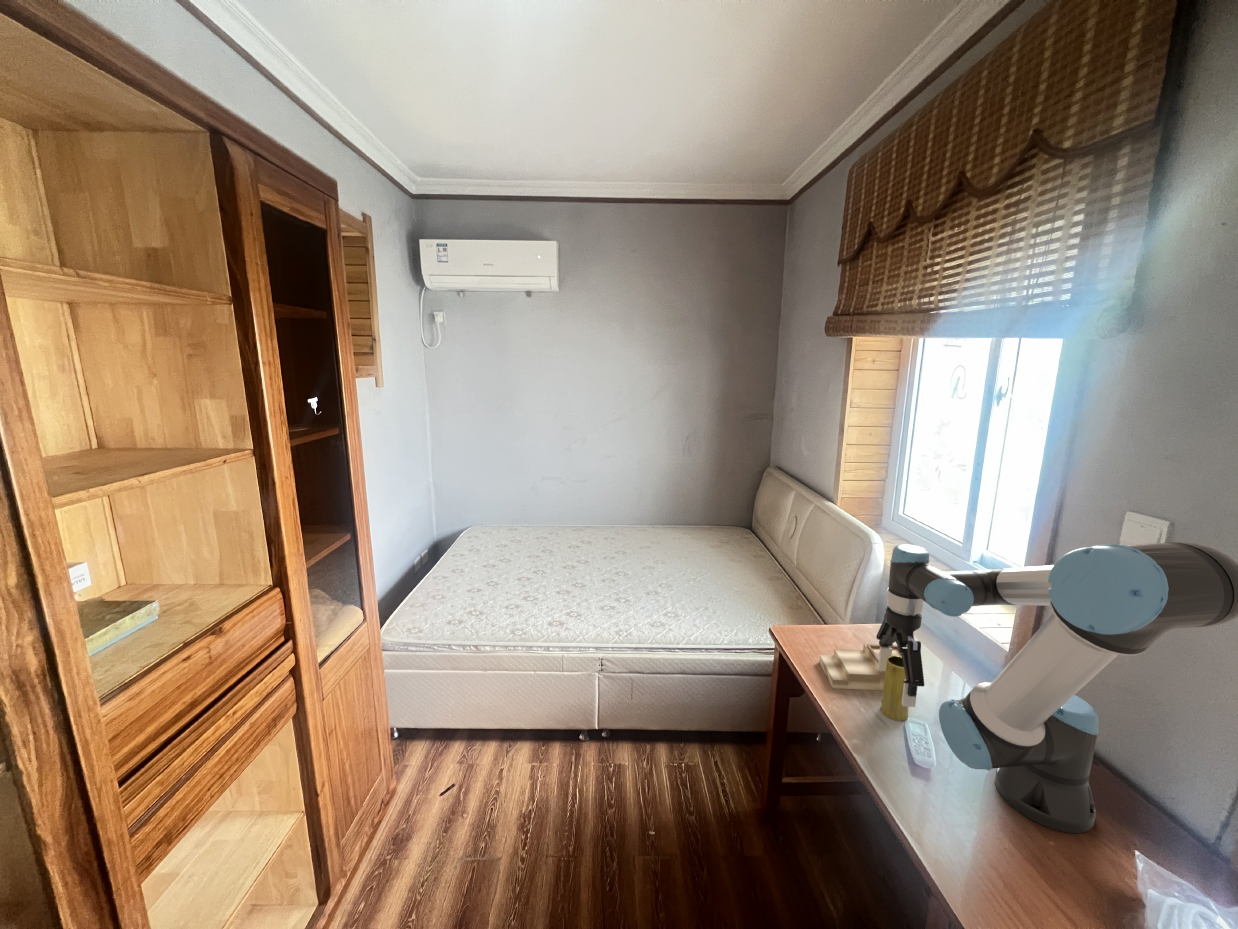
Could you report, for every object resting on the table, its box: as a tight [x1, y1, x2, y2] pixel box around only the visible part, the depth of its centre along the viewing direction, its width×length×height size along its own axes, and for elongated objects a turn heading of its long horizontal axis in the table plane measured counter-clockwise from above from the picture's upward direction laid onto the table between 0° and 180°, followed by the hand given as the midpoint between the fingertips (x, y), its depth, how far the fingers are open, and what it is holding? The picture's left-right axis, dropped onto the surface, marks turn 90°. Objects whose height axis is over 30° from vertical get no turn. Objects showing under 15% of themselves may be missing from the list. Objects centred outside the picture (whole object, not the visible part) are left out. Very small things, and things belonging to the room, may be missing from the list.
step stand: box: [818, 643, 902, 691], centre depth 138 cm, size 12×21×7 cm, turn 84°
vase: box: [879, 656, 909, 722], centre depth 123 cm, size 6×6×14 cm
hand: (895, 687), depth 123 cm, fingers open, 13 cm apart
